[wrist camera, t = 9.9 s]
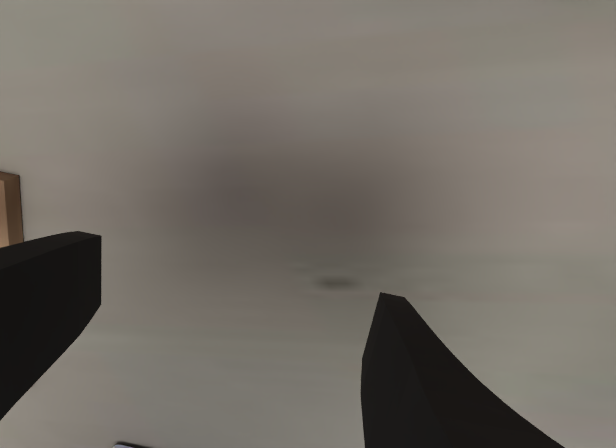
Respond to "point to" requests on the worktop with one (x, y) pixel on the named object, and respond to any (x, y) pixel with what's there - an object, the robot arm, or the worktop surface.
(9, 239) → the pin board
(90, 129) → the worktop surface
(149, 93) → the worktop surface
